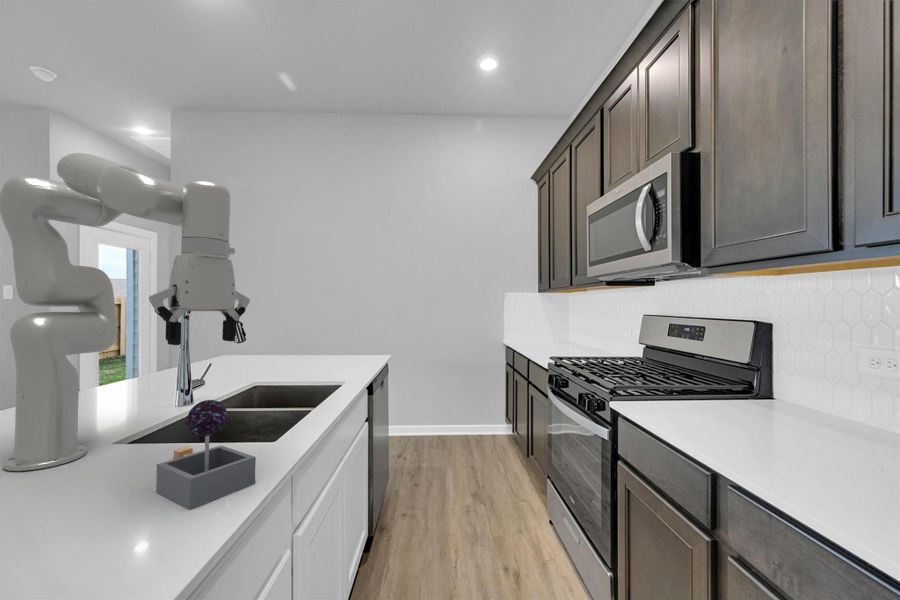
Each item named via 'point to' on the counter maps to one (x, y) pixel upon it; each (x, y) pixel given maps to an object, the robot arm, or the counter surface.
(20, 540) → the counter surface
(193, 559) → the counter surface
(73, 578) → the counter surface
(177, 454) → the cable run
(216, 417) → the lollipop
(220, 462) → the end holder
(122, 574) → the counter surface
